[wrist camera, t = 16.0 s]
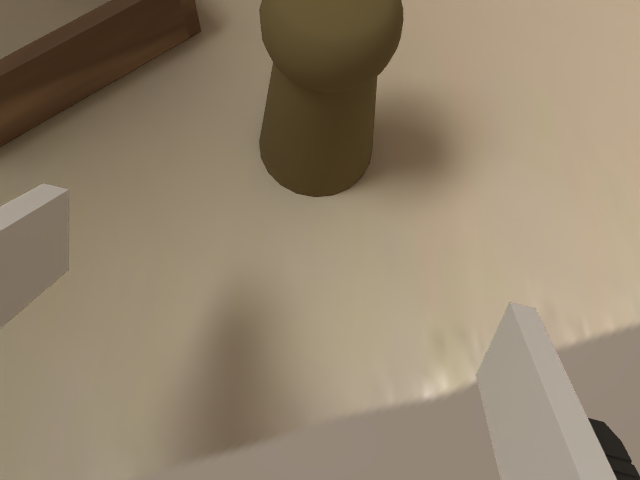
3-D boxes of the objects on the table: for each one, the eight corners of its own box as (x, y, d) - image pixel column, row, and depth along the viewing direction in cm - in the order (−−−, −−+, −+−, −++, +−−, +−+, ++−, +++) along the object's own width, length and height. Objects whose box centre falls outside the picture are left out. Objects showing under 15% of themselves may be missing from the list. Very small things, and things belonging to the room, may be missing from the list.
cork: (237, 129, 28) (210, -43, 17) (329, 78, 29) (356, -109, 19) (300, 217, 26) (312, 89, 16) (394, 160, 28) (461, 7, 17)
